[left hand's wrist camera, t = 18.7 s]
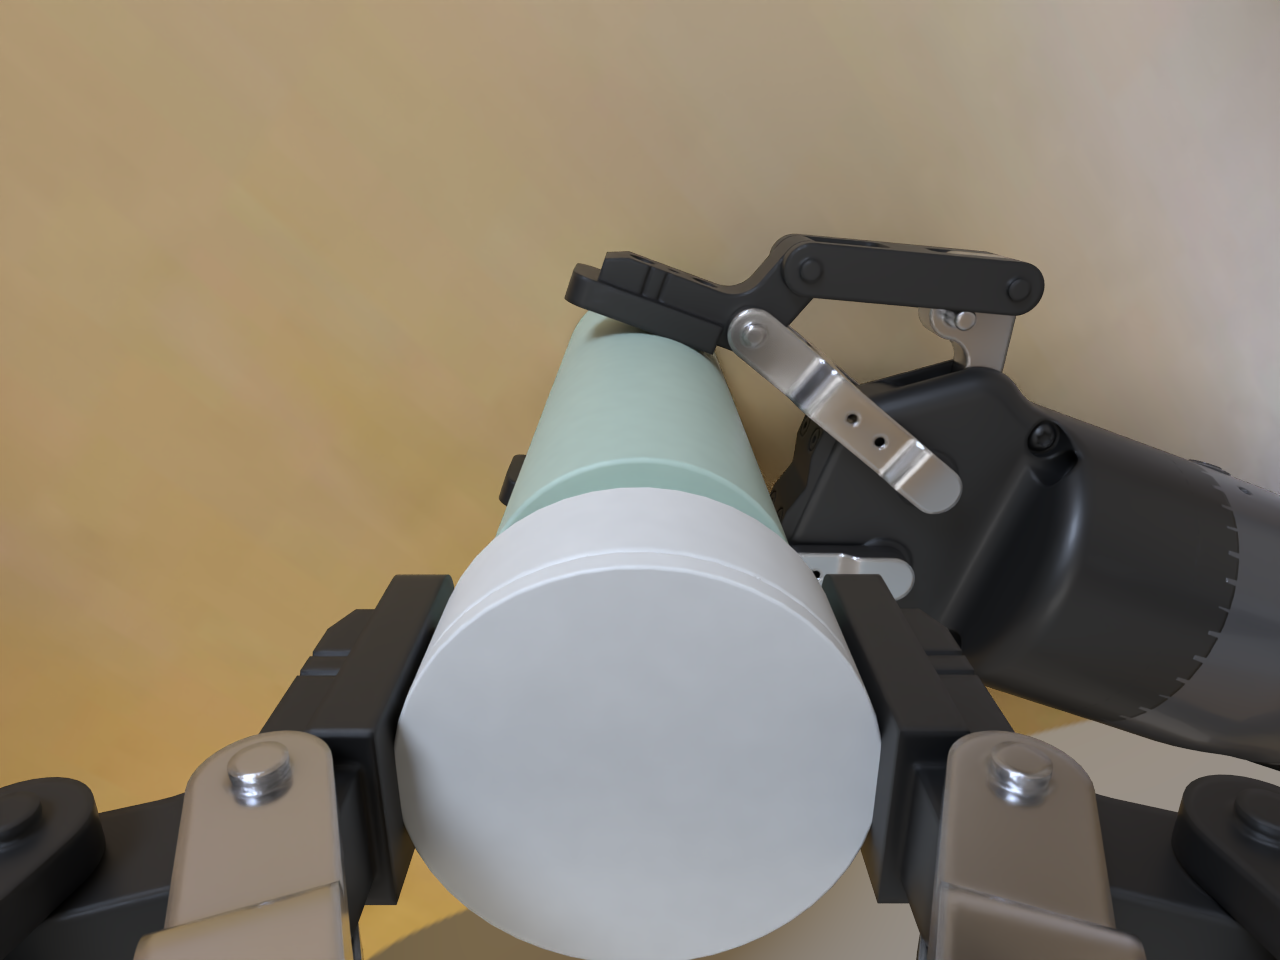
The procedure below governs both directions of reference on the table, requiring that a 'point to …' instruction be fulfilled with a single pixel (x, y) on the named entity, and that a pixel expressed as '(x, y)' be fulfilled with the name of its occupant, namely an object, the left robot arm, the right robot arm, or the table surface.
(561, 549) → the lid
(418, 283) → the table surface
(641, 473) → the jar
